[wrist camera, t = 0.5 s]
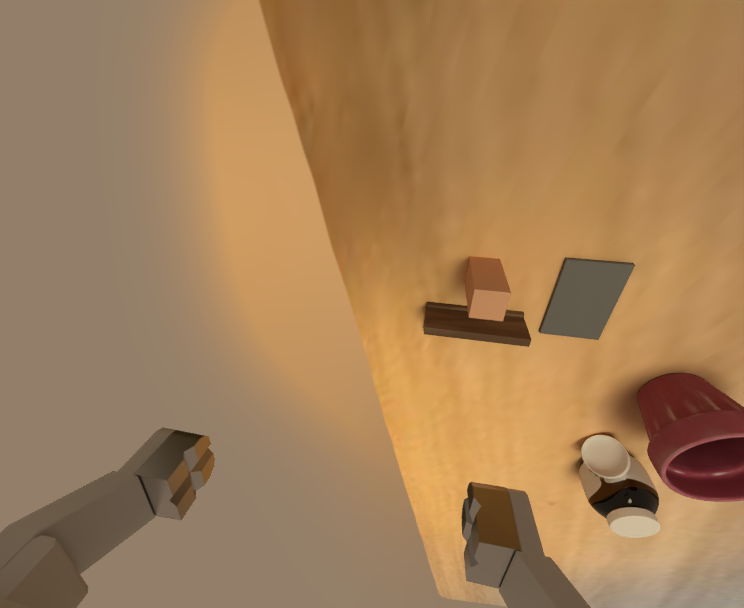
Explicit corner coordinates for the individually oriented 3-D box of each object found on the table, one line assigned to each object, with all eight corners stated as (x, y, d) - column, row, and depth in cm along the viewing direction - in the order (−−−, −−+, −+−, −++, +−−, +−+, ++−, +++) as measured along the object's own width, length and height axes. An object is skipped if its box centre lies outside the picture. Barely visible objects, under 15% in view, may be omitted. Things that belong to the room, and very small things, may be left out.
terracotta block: (469, 256, 45) (474, 289, 38) (499, 259, 45) (511, 292, 37) (464, 282, 47) (468, 317, 40) (493, 284, 47) (502, 321, 39)
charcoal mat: (565, 257, 43) (566, 259, 42) (632, 263, 42) (635, 265, 41) (538, 330, 49) (539, 333, 49) (596, 337, 48) (598, 339, 48)
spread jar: (600, 478, 65) (627, 546, 55) (552, 456, 64) (571, 520, 54) (654, 450, 58) (696, 521, 49) (601, 424, 57) (633, 491, 48)
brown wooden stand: (427, 301, 50) (425, 324, 45) (523, 312, 48) (532, 337, 43) (423, 327, 53) (421, 352, 48) (514, 338, 51) (522, 365, 46)
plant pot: (751, 362, 46) (842, 443, 35) (705, 427, 53) (769, 510, 43) (635, 356, 49) (687, 429, 38) (606, 418, 56) (644, 494, 46)
